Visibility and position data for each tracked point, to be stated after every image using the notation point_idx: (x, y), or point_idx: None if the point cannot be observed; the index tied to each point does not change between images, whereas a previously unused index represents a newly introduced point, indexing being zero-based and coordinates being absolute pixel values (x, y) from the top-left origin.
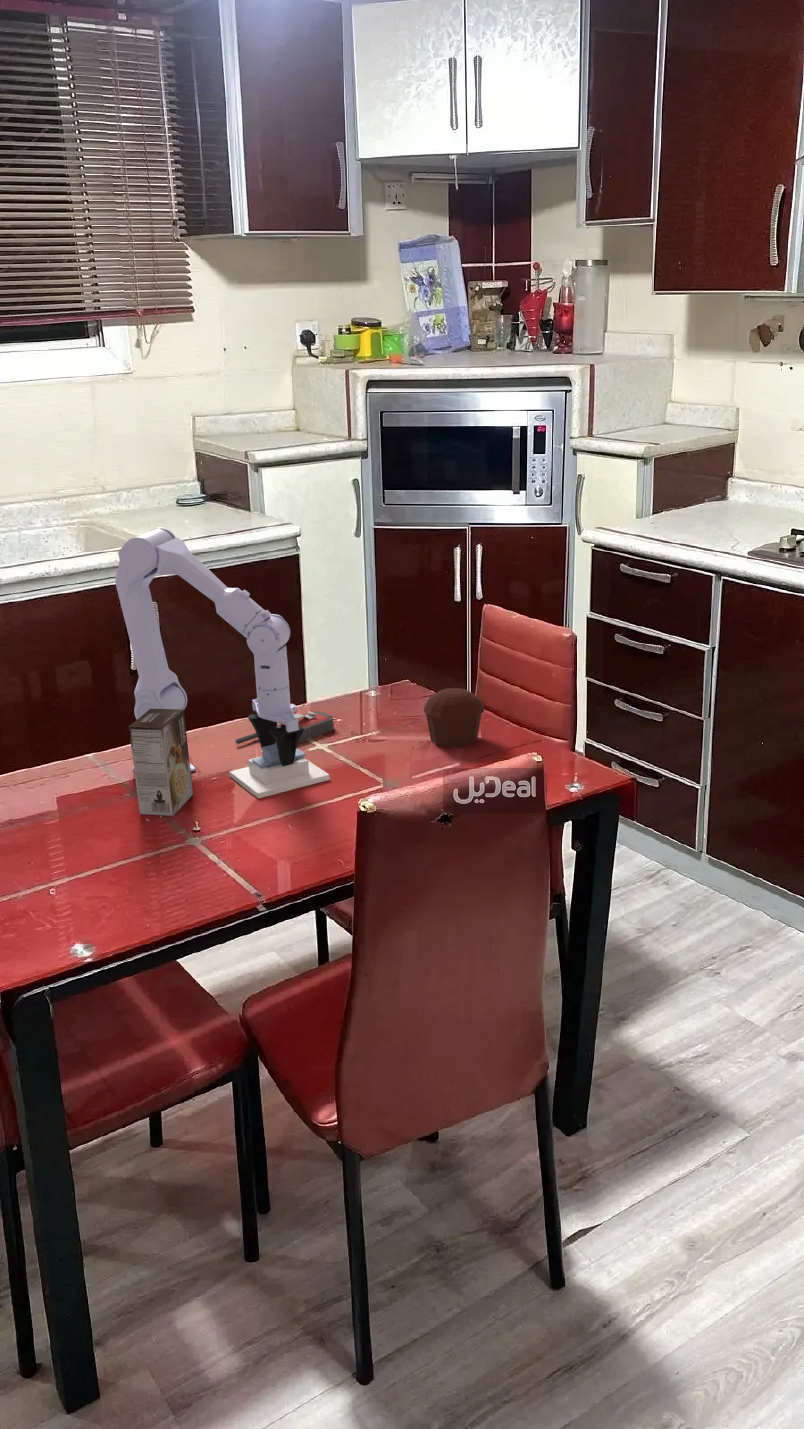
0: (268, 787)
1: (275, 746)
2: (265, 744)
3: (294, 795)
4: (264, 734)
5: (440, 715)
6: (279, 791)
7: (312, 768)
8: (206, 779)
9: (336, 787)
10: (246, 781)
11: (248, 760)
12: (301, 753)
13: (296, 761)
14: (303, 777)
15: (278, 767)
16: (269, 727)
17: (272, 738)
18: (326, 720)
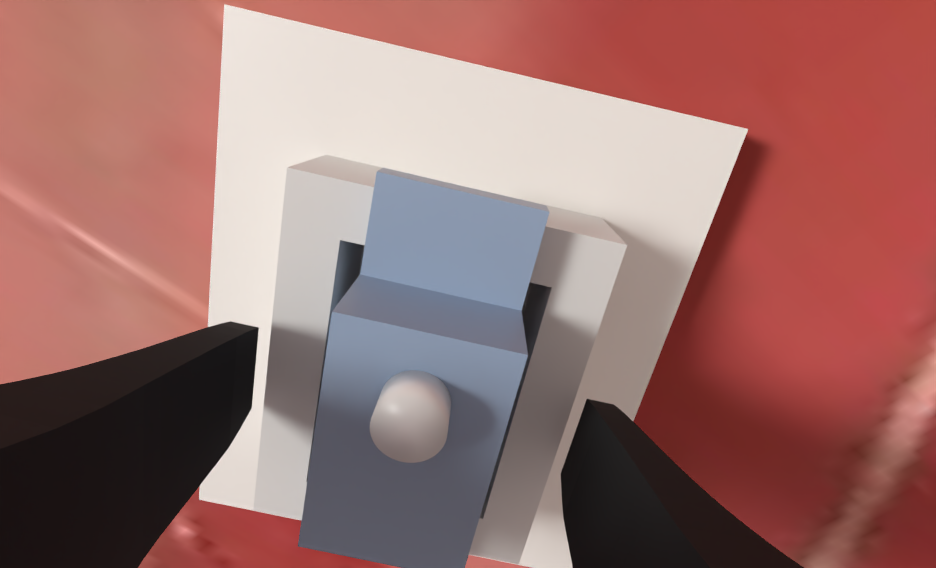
0: (558, 505)
1: (374, 468)
2: (213, 440)
3: (699, 423)
4: (140, 513)
5: None
6: None
7: (550, 136)
8: (171, 557)
9: (857, 185)
10: None
11: (258, 506)
12: (516, 236)
13: (560, 324)
14: (621, 289)
15: (538, 473)
16: (87, 516)
17: (189, 396)
18: None
